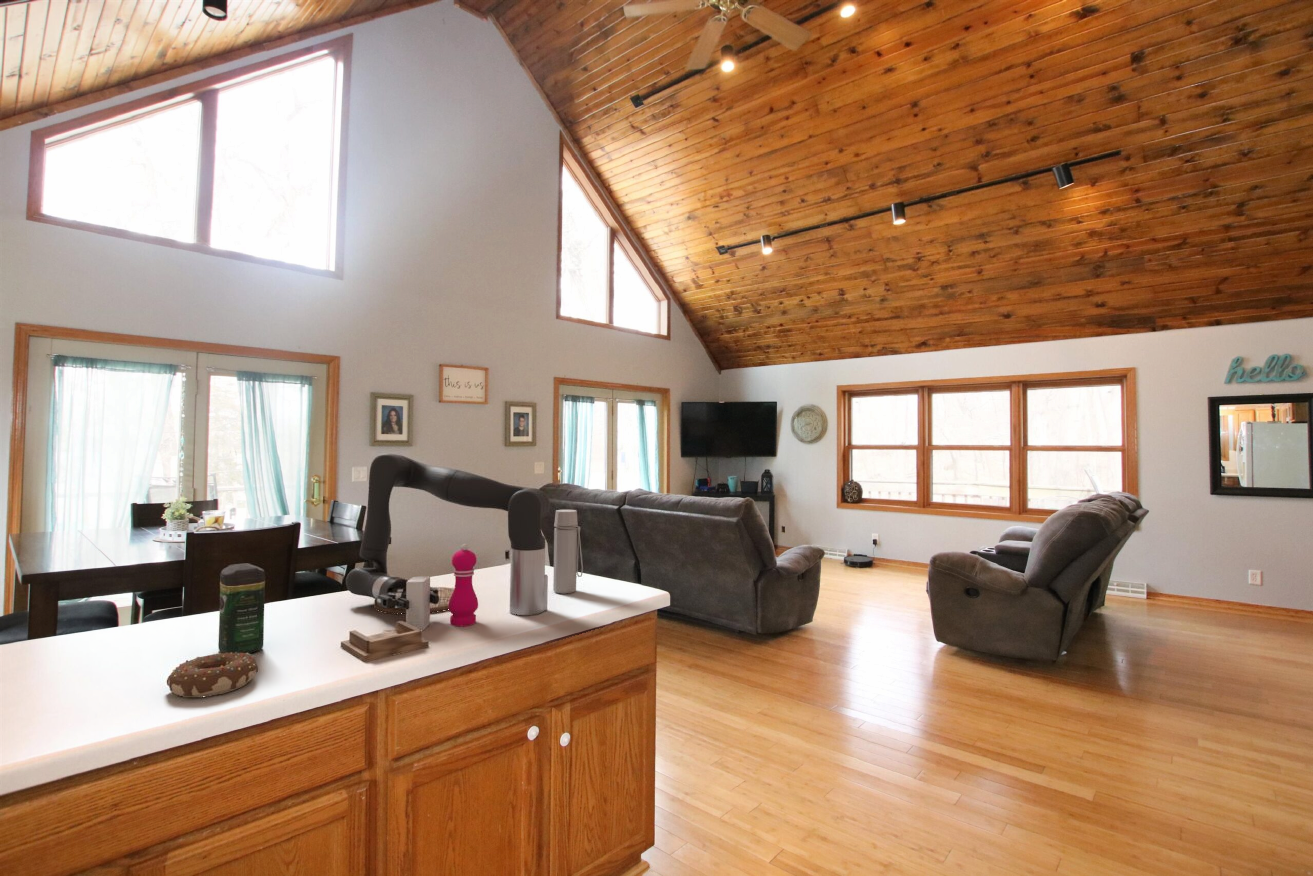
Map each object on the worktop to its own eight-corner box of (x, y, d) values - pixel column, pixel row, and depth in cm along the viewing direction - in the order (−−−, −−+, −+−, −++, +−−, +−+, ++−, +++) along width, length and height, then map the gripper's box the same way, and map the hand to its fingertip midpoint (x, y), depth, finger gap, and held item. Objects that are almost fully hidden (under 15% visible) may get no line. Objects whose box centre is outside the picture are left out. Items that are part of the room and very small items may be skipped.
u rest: (402, 634, 150) (402, 618, 150) (428, 646, 141) (428, 630, 141) (340, 647, 140) (341, 630, 140) (364, 661, 131) (364, 644, 131)
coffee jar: (267, 651, 136) (269, 565, 136) (224, 660, 131) (225, 570, 131) (256, 641, 143) (258, 559, 143) (214, 648, 138) (216, 563, 138)
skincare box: (412, 624, 158) (413, 576, 159) (430, 623, 159) (430, 576, 159) (404, 631, 152) (405, 581, 152) (423, 631, 153) (423, 581, 153)
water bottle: (549, 594, 192) (550, 511, 192) (557, 588, 199) (558, 509, 199) (578, 595, 190) (579, 512, 190) (585, 589, 198) (586, 509, 198)
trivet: (379, 596, 188) (379, 589, 188) (467, 591, 195) (467, 585, 195) (368, 618, 164) (368, 611, 164) (468, 612, 171) (468, 605, 171)
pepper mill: (469, 628, 156) (470, 546, 156) (442, 625, 157) (443, 545, 157) (482, 620, 163) (484, 542, 163) (457, 618, 164) (458, 541, 165)
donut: (265, 687, 117) (266, 660, 117) (174, 709, 108) (174, 679, 108) (247, 667, 127) (247, 642, 127) (161, 685, 118) (162, 658, 118)
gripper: (365, 580, 160) (393, 592, 149) (419, 572, 171) (450, 582, 159) (364, 610, 160) (393, 623, 149) (418, 600, 171) (449, 612, 159)
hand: (422, 602), depth 154 cm, fingers closed on skincare box, 7 cm apart
